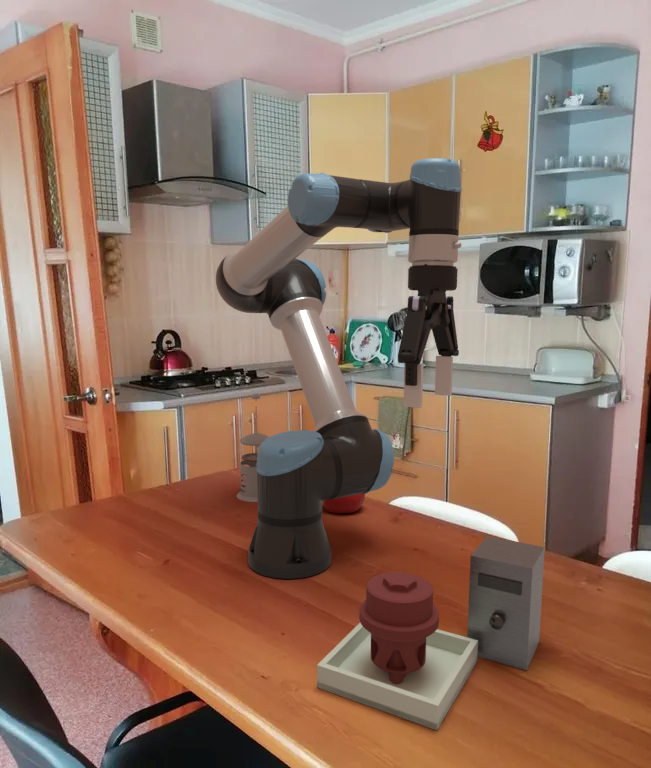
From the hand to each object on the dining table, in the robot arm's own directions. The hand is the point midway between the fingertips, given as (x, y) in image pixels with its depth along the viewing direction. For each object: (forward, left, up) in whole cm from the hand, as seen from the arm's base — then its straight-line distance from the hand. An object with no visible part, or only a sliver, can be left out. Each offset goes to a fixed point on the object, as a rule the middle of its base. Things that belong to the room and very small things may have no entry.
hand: (428, 400), depth 100 cm
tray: (+6, -24, -32) cm, 40 cm away
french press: (-53, +27, -32) cm, 68 cm away
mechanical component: (+6, -24, -31) cm, 40 cm away
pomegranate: (-30, +28, -32) cm, 52 cm away
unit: (+16, -11, -32) cm, 37 cm away
